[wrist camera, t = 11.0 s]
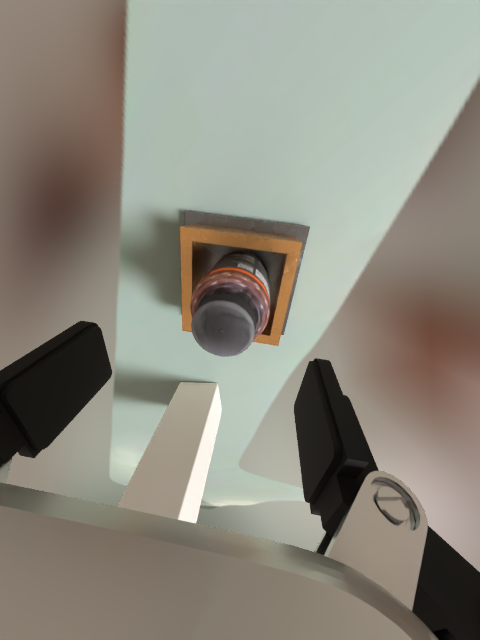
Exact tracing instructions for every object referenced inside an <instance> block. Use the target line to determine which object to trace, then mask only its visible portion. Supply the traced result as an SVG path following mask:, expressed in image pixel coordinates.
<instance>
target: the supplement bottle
mask: <svg viewBox="0 0 480 640" xmlns="http://www.w3.org/2000/svg"><path fill="white" fill-rule="evenodd" d="M190 312H191V316H192V322H191V328H192V333H193V336H194V338H195V340H196V341H197V343H198V344H199V345H200V346H201V347H202V348H203V349H204V350H206V351H208V352H210V353H212V354H214V355H218V356H224V357H225V356H234V355H238V354H240V353H242V352H243V351H245V350H246V349H247V348H248V347H249V346H250V345H251V343H252V342H253V340H254V339H256V338H257V337H258V336H259V335H260V334H261V333H262V332H263V330H264V329H265V327H266V325H267V322H268V319H269V315H270V295H269V276H268V272H267V269H266V267H265V265H264V263H263V262H262V261H261V260H260V258H258V257H257V256H255V255H254V254H252V253H249V252H245V251H235V252H232V253H229V254H227V255H225V256H224V257H223V258H221V259H220V260H219V261H218V262H217V263H216V264H215V266H214V267H213V268H212V269H211V270H210V271H209V272H208V273H207V274H206V275H205V276H204V277H203V278H202V280H201V281H200V282H199V283H198V285H197V286H196V288H195V289H194V292H193V294H192V297H191V302H190Z"/></svg>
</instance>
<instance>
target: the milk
mask: <svg viewBox="0 0 480 640" xmlns="http://www.w3.org/2000/svg"><path fill="white" fill-rule="evenodd" d="M221 413H222V407H221V401H220V394H219V388H218V383H197V382H180V384H179V386H178V388H177V390H176V392H175V394H174V395H173V397H172V399H171V401H170V403H169V405H168V407H167V409H166V411H165V413H164V415H163V417H162V419H161V421H160V423H159V425H158V427H157V429H156V431H155V433H154V435H153V437H152V439H151V441H150V443H149V445H148V447H147V448H146V450H145V452H144V454H143V456H142V458H141V460H140V462H139V464H138V466H137V468H136V470H135V472H134V474H133V476H132V478H131V480H130V482H129V484H128V486H127V488H126V490H125V492H124V494H123V496H122V498H121V500H120V501H119V503H118V506H117V507H121V508H126V509H130V510H135V511H140V512H145V513H149V514H154V515H159V516H163V517H168V518H173V519H177V520H182V521H187V522H191V523H196V521H197V517H198V513H199V508H200V504H201V500H202V495H203V491H204V487H205V482H206V478H207V474H208V469H209V465H210V460H211V456H212V452H213V447H214V443H215V439H216V434H217V430H218V426H219V421H220V417H221Z"/></svg>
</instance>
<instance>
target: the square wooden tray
mask: <svg viewBox="0 0 480 640" xmlns="http://www.w3.org/2000/svg"><path fill="white" fill-rule="evenodd" d="M309 228H310V227H309V226H303V225H295V224H287V223H279V222H271V221H263V220H256V219H248V218H240V217H232V216H224V215H216V214H208V213H200V212H192V211H185V226H180V248H181V290H182V331H188V332H192V328H191V322H192V316H191V312H190V302H191V297H192V294H193V292H194V289H195V288H196V286H197V285H198V283H199V282H200V281H201V280H202V278H203V277H204V276H205V275H206V274H207V273H208V272H209V271H210V270H211V269H212V268H213V267H214V266H215V264H216V263H217V262H218V261H219V260H220V259H221V258H223V257H224V256H225V255H227V254H229V253H232V252H235V251H245V252H249V253H252V254H254V255H255V256H257V257H258V258H260V260H261V261H262V262H263V263H264V265H265V267H266V269H267V272H268V276H269V295H270V315H269V319H268V322H267V325H266V327H265V329H264V330H263V332H262V333H261V334H260V335H259V336H258V337H257V338H256V339H254V340H253V342H258V343H264V344H270V345H277V346H278V344H279V340H280V336H281V335H284V331H285V327H286V323H287V319H288V314H289V310H290V306H291V302H292V298H293V294H294V290H295V286H296V282H297V278H298V273H299V269H300V265H301V261H302V257H303V253H304V249H305V245H306V241H307V237H308V232H309Z"/></svg>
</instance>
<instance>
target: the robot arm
mask: <svg viewBox="0 0 480 640" xmlns="http://www.w3.org/2000/svg"><path fill="white" fill-rule="evenodd" d="M111 375H112V369H111V365H110V362H109V358H108V354H107V350H106V346H105V342H104V339H103V335H102V331H101V329H100V327H98V325H97V324H96V323H92V322H85V321H80V322H78V323H76V324H75V325H73V326H71V327H70V328H68V329H67V330H65V331H63V332H62V333H60V334H59V335H57V336H55V337H54V338H52V339H50V340H49V341H47V342H46V343H44V344H42V345H41V346H39V347H38V348H36V349H34V350H33V351H31V352H30V353H28V354H26V355H25V356H23V357H22V358H20V359H19V360H17V361H15V362H14V363H12V364H11V365H9V366H7V367H5V368H4V369H2V370H1V371H0V640H480V572H479V571H477V570H476V569H475V568H474V567H473V566H472V565H471V564H470V563H469V562H468V561H466V560H465V559H464V558H463V557H462V556H461V555H460V554H459V553H458V552H456V551H455V550H454V549H453V548H452V547H451V546H450V545H449V544H448V543H447V542H446V541H444V540H443V539H442V538H441V537H440V536H439V535H438V534H437V533H436V532H435V531H433V530H432V529H431V528H430V527H429V526H428V524H427V517H426V514H425V511H424V509H423V507H422V505H421V503H420V502H419V500H418V498H417V497H416V496H415V494H414V493H413V492H412V491H411V490H410V488H408V487H407V486H406V485H405V484H404V483H403V482H402V481H401V480H399V479H398V478H396V477H394V476H393V475H391V474H388V473H386V472H384V471H379V470H378V468H377V466H376V463H375V461H374V458H373V456H372V453H371V451H370V449H369V446H368V443H367V441H366V438H365V436H364V434H363V431H362V429H361V426H360V424H359V421H358V419H357V416H356V414H355V411H354V409H353V407H352V404H351V402H350V400H349V398H348V397H347V396H345V395H343V393H342V391H341V388H340V386H339V383H338V380H337V378H336V375H335V373H334V370H333V367H332V365H331V362H330V361H329V360H322V359H314V361H310V362H309V364H308V366H307V369H306V372H305V375H304V378H303V381H302V384H301V387H300V390H299V392H298V395H297V398H296V401H295V405H294V414H295V423H296V432H297V440H298V448H299V457H300V466H301V474H302V483H303V492H304V498H305V501H306V502H308V503H310V509H311V514H315V515H320V516H321V521H322V526H323V529H324V530H325V532H324V534H323V536H322V538H321V539H320V541H319V543H318V545H317V547H316V549H315V551H314V552H312V551H309V550H305V549H302V548H299V547H295V546H292V545H288V544H284V543H279V542H275V541H271V540H267V539H263V538H258V537H254V536H250V535H246V534H242V533H237V532H233V531H228V530H223V529H219V528H214V527H210V526H205V525H201V524H196V523H191V522H187V521H182V520H177V519H173V518H168V517H163V516H159V515H154V514H149V513H145V512H140V511H135V510H130V509H126V508H121V507H116V506H111V505H106V504H102V503H96V502H92V501H87V500H82V499H78V498H73V497H68V496H63V495H58V494H54V493H49V492H44V491H39V490H34V489H29V488H24V487H19V486H14V485H10V484H6V483H7V479H8V474H9V469H10V465H11V461H12V457H13V456H14V455H15V454H16V452H18V453H19V454H20V455H21V456H26V457H31V458H35V457H36V456H37V455H38V453H39V452H40V451H41V450H42V449H45V448H46V447H48V446H49V445H50V444H51V443H52V442H53V440H54V439H55V438H56V437H57V436H58V435H59V434H60V433H61V432H62V431H63V430H64V428H65V427H66V426H67V425H68V424H69V423H70V422H71V421H72V420H73V419H74V417H75V416H76V415H77V414H78V413H79V412H80V411H81V410H82V409H83V408H84V407H85V405H86V404H87V403H88V402H89V401H90V400H91V399H92V398H93V397H94V395H95V394H96V393H97V392H98V391H99V390H100V389H101V388H102V387H103V386H104V385H105V383H106V382H107V381H108V380H109V379H110V377H111Z"/></svg>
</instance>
